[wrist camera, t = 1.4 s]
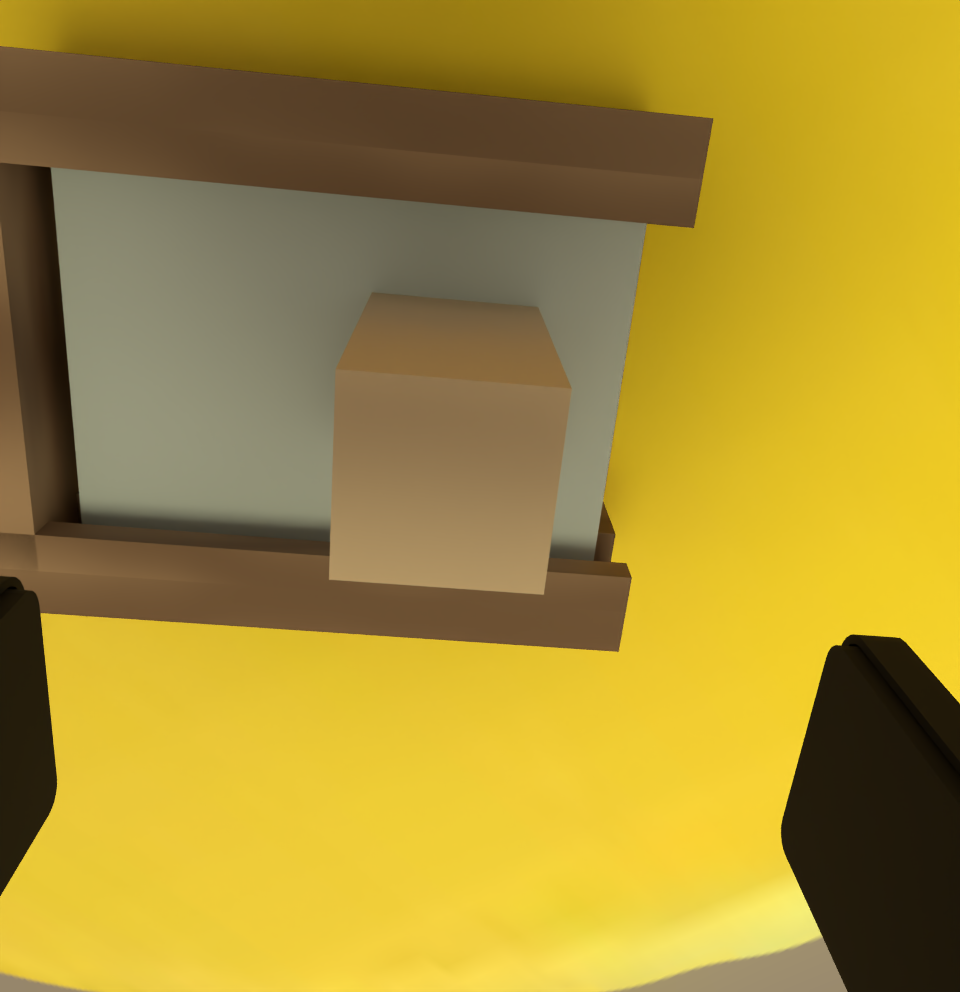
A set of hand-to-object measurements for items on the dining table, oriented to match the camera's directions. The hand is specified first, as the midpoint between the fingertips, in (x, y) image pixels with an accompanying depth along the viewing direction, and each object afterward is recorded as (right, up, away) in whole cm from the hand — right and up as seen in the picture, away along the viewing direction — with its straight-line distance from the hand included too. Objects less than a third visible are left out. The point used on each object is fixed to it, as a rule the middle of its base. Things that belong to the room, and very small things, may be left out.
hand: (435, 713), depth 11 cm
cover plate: (-3, +6, +13) cm, 14 cm away
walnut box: (-3, +8, +16) cm, 18 cm away
